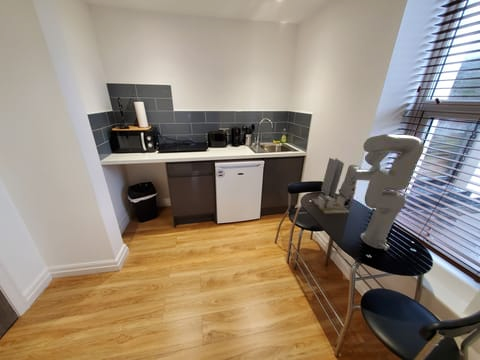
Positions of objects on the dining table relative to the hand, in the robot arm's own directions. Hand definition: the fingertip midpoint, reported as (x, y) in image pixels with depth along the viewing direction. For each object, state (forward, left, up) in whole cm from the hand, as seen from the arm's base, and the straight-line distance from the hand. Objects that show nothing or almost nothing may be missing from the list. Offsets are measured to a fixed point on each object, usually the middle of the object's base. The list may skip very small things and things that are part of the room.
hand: (343, 203), depth 143 cm
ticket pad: (0, +15, -1) cm, 15 cm away
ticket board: (0, +11, -2) cm, 11 cm away
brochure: (+20, 0, -3) cm, 20 cm away
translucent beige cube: (0, +1, -1) cm, 1 cm away
